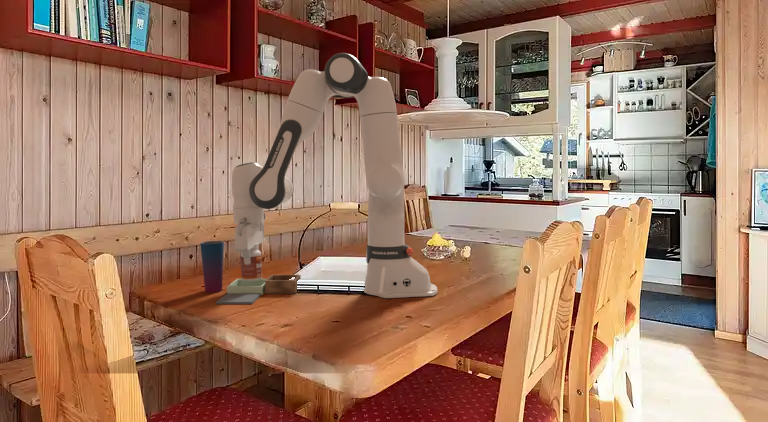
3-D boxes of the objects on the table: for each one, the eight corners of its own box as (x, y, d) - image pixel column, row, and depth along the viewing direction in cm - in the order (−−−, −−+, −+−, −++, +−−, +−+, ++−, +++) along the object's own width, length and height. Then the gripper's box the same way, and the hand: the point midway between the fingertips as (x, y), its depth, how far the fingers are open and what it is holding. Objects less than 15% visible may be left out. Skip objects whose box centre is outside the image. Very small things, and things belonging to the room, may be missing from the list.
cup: (218, 293, 160) (216, 244, 158) (197, 292, 161) (195, 243, 160) (229, 288, 166) (227, 240, 165) (209, 287, 168) (207, 240, 166)
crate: (300, 287, 168) (300, 274, 168) (295, 294, 159) (295, 280, 159) (272, 287, 168) (271, 274, 168) (265, 294, 159) (265, 280, 159)
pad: (260, 295, 158) (260, 293, 158) (252, 304, 148) (252, 301, 148) (227, 295, 158) (227, 293, 158) (216, 304, 148) (216, 301, 148)
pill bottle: (260, 281, 160) (258, 244, 159) (240, 282, 160) (237, 245, 159) (263, 276, 167) (261, 241, 166) (243, 277, 166) (241, 242, 165)
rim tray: (270, 286, 169) (270, 278, 169) (262, 294, 158) (262, 286, 158) (237, 286, 169) (237, 279, 169) (227, 294, 158) (226, 286, 158)
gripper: (249, 219, 151) (252, 267, 152) (266, 213, 172) (269, 255, 173) (227, 220, 151) (230, 268, 153) (247, 214, 172) (249, 256, 173)
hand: (251, 261), depth 163 cm, fingers closed on pill bottle, 6 cm apart
